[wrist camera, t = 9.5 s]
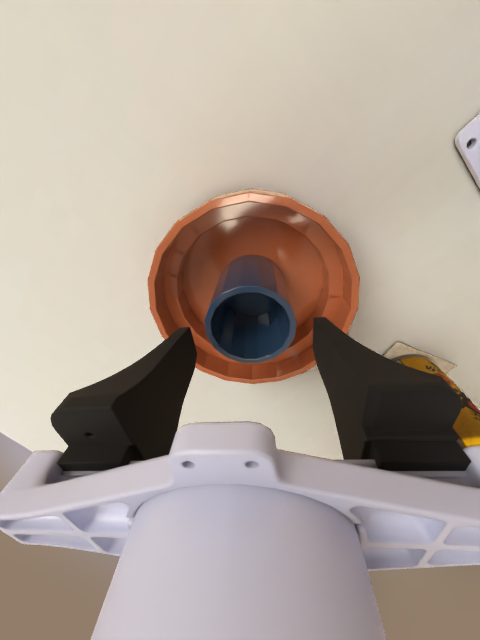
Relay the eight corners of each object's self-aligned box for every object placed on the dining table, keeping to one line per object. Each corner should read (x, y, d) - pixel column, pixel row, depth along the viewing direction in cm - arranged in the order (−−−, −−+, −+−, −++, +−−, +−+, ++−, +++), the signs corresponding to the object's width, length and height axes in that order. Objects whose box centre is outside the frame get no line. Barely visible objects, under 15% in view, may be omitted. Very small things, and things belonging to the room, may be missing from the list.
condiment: (455, 364, 25) (597, 500, 14) (397, 413, 29) (475, 545, 19) (395, 340, 24) (503, 468, 13) (344, 394, 28) (396, 524, 18)
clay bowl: (375, 283, 21) (402, 308, 17) (253, 373, 27) (252, 406, 23) (249, 136, 16) (247, 124, 12) (136, 286, 22) (111, 310, 18)
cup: (299, 287, 21) (315, 328, 15) (252, 327, 23) (251, 375, 18) (251, 238, 19) (248, 266, 13) (205, 288, 21) (186, 328, 16)
